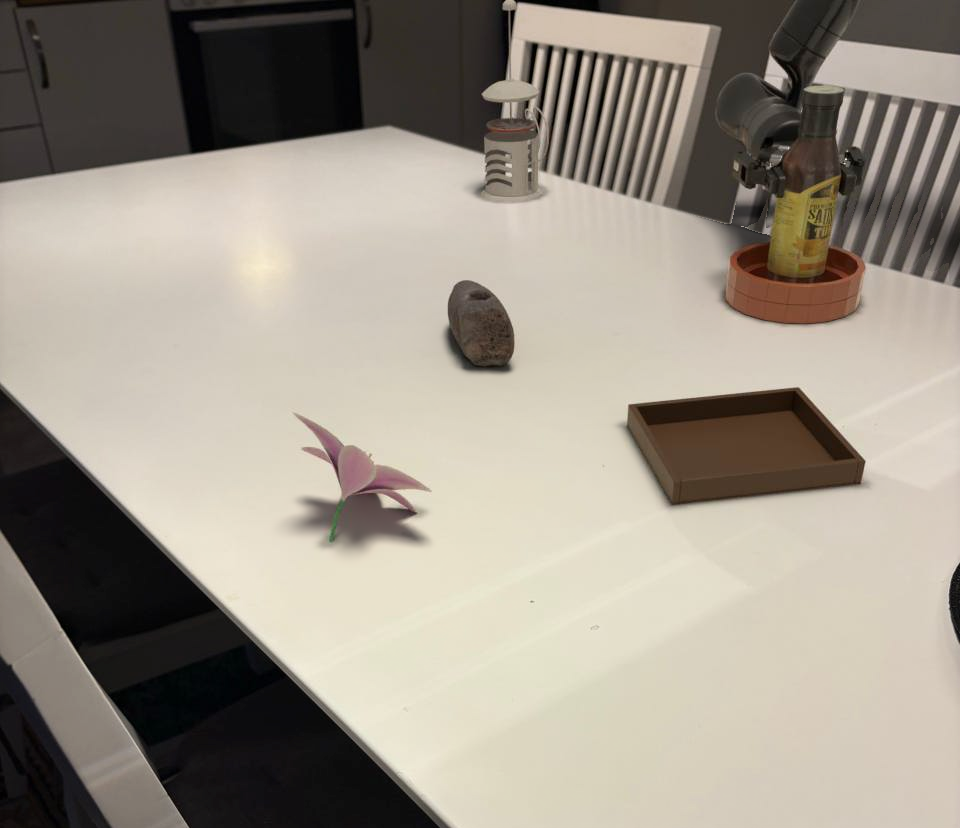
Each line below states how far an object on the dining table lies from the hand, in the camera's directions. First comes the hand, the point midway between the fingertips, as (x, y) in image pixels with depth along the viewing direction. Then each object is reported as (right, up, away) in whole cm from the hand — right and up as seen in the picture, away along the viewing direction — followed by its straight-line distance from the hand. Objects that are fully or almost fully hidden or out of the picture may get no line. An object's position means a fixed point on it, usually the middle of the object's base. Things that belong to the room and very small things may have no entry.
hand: (815, 187), depth 108 cm
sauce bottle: (0, -7, +9) cm, 12 cm away
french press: (-30, +19, +46) cm, 58 cm away
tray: (-12, -31, -17) cm, 38 cm away
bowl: (0, -9, +10) cm, 13 cm away
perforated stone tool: (-35, -16, +3) cm, 39 cm away
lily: (-44, -38, -23) cm, 63 cm away
